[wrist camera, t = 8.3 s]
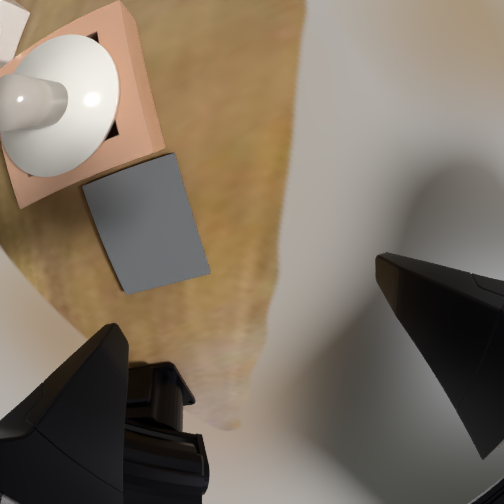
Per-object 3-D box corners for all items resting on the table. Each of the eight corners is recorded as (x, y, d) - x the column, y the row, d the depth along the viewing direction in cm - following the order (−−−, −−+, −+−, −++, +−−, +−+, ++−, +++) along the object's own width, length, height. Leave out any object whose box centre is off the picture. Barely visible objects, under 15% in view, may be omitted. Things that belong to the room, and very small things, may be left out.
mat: (210, 269, 22) (210, 273, 21) (128, 290, 22) (126, 294, 21) (174, 152, 18) (173, 153, 17) (85, 184, 18) (82, 186, 17)
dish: (165, 147, 18) (154, 152, 14) (48, 194, 17) (20, 209, 14) (135, 20, 13) (119, -1, 10) (21, 79, 13) (-9, 76, 10)
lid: (136, 143, 14) (101, 152, 9) (24, 194, 14) (-27, 221, 9) (108, 15, 10) (72, -20, 5) (-1, 79, 10) (-52, 77, 5)
